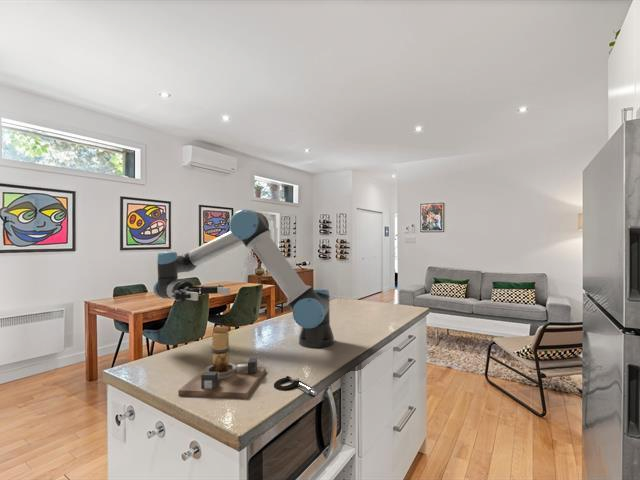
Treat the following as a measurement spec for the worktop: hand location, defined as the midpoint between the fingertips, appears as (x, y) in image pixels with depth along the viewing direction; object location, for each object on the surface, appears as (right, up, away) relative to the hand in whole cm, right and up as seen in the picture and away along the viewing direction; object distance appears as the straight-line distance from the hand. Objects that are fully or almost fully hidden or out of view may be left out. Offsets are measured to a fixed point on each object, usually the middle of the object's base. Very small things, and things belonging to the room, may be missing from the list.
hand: (213, 293), depth 119 cm
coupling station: (+9, -24, -18) cm, 32 cm away
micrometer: (+31, -25, -23) cm, 46 cm away
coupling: (+7, -23, -14) cm, 28 cm away
